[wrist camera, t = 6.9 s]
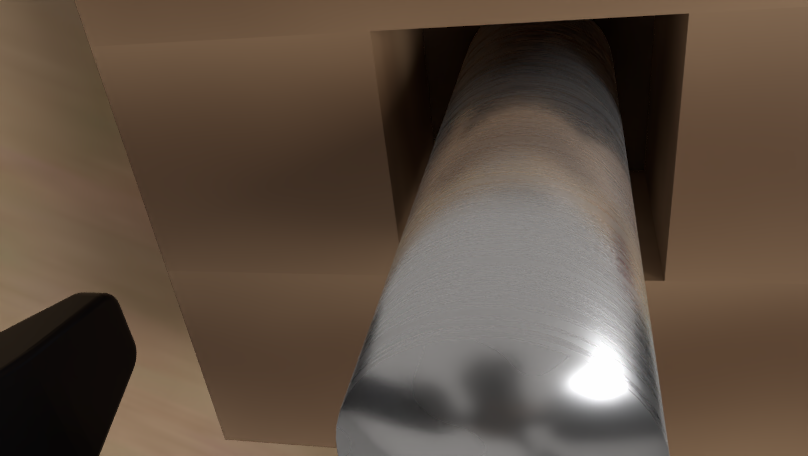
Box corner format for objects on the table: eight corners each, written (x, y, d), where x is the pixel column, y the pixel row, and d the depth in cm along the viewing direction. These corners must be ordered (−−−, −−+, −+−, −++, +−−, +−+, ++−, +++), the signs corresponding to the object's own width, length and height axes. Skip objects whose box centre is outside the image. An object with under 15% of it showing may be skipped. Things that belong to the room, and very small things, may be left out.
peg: (610, 138, 15) (659, 583, 7) (469, 141, 16) (359, 550, 8) (616, -6, 14) (685, 347, 5) (458, 4, 14) (309, 332, 6)
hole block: (845, 348, 17) (912, 490, 14) (282, 327, 20) (225, 439, 17) (1059, -451, 10) (1315, -563, 6) (123, -292, 13) (-33, -311, 9)
